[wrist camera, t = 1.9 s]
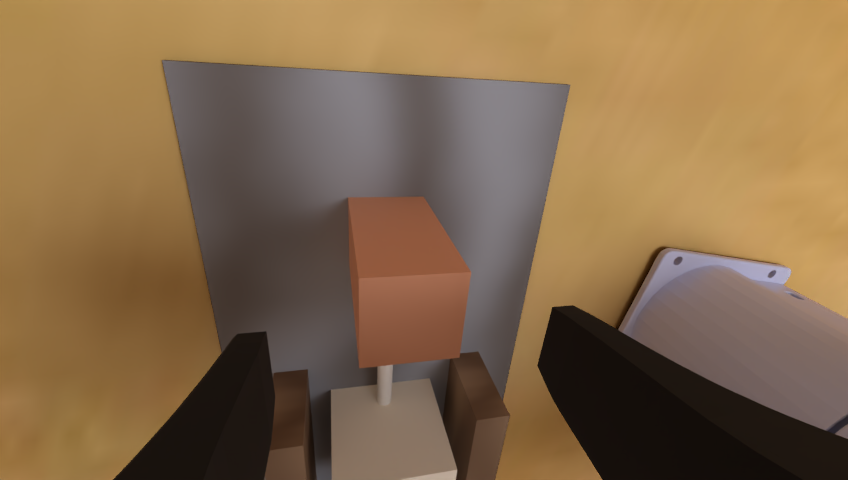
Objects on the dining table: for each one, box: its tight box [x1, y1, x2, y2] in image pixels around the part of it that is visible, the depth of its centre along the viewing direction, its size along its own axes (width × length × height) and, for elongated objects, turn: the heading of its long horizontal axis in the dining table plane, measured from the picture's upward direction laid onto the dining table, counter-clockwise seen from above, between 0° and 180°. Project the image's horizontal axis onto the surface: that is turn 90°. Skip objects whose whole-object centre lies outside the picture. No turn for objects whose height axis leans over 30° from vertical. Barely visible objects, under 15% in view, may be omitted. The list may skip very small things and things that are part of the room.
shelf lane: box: [162, 60, 570, 480], centre depth 16 cm, size 14×25×6 cm, turn 176°
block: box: [331, 197, 471, 480], centre depth 16 cm, size 5×15×6 cm, turn 176°
